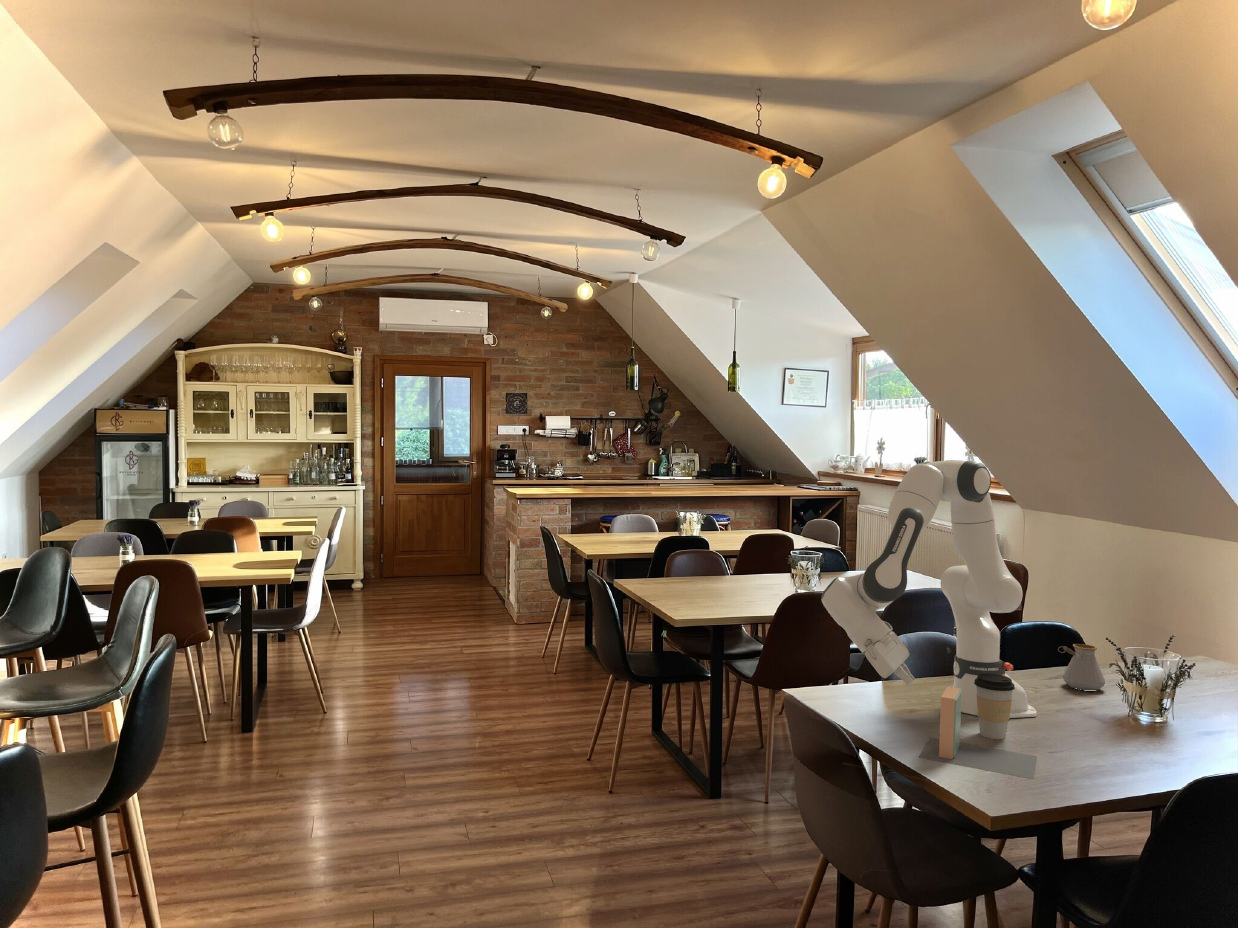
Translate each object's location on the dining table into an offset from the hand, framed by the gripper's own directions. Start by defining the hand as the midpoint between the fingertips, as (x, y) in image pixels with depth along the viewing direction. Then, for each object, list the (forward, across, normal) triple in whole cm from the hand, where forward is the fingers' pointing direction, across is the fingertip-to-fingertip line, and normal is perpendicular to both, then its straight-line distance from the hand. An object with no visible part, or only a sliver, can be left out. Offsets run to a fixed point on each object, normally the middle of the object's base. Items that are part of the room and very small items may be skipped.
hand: (911, 682), depth 207 cm
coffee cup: (+23, +19, -1) cm, 30 cm away
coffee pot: (+35, +78, -14) cm, 86 cm away
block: (+17, 0, +4) cm, 18 cm away
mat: (+22, 0, 0) cm, 22 cm away
